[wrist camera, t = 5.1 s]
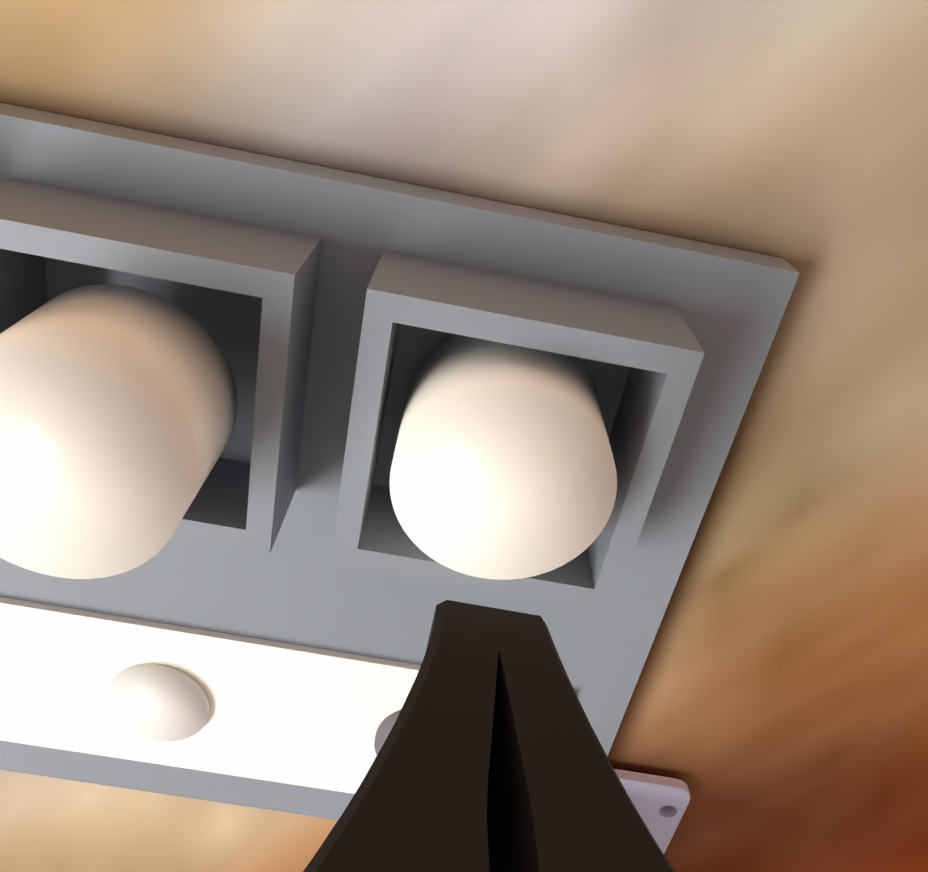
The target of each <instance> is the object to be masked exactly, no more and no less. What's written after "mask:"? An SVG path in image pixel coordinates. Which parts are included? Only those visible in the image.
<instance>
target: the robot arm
mask: <svg viewBox="0 0 928 872" xmlns="http://www.w3.org/2000/svg"><path fill="white" fill-rule="evenodd" d="M689 802H690V793H689V789H688V786H687V784H686V783H685V782H684V781H682V780H679V779H676V778H670V777H664V776H658V775H651V774H645V773H638V772H632V771H626V770H619V769H613V767H612V765H611V763H610V761H609V759H608V757H607V755H606V753H605V751H604V749H603V747H602V745H601V743H600V742H599V740H598V738H597V736H596V734H595V732H594V730H593V728H592V726H591V724H590V722H589V720H588V718H587V716H586V714H585V712H584V710H583V708H582V706H581V704H580V701H579V699H578V697H577V695H576V693H575V691H574V688H573V686H572V684H571V682H570V680H569V678H568V675H567V673H566V671H565V668H564V666H563V664H562V662H561V659H560V657H559V654H558V652H557V650H556V647H555V645H554V642H553V640H552V638H551V635H550V632H549V630H548V627H547V625H546V623H545V622H544V620H543V619H542V617H541V616H539V615H533V614H527V613H521V612H515V611H509V610H504V609H498V608H492V607H486V606H480V605H475V604H469V603H463V602H457V601H451V600H445V601H443V602H441V603H440V604H438V605H436V609H435V613H434V617H433V622H432V626H431V630H430V635H429V639H428V644H427V648H426V652H425V656H424V659H423V661H422V664H421V666H420V669H419V672H418V674H417V677H416V679H415V681H414V683H413V685H412V688H411V690H410V692H409V694H408V696H407V698H406V700H405V703H404V705H403V707H402V709H401V711H400V713H399V715H398V718H397V720H396V722H395V724H394V726H393V727H392V729H391V731H390V733H389V735H388V737H387V738H386V740H385V742H384V744H383V746H382V747H381V749H380V751H379V753H378V755H377V756H376V758H375V760H374V762H373V763H372V765H371V767H370V769H369V771H368V772H367V774H366V776H365V778H364V780H363V781H362V783H361V785H360V786H359V788H358V789H357V791H356V793H355V794H354V796H353V798H352V799H351V801H350V802H349V804H348V806H347V807H346V809H345V810H344V812H343V814H342V815H341V817H340V818H339V820H338V821H337V823H336V824H335V826H334V827H333V829H332V830H331V832H330V833H329V835H328V836H327V838H326V839H325V841H324V842H323V844H322V845H321V847H320V848H319V850H318V851H317V853H316V854H315V856H314V857H313V859H312V860H311V861H310V863H309V864H308V866H307V867H306V868H305V870H304V871H303V872H675V871H674V870H673V868H672V867H671V865H670V863H669V862H668V860H667V859H666V857H665V856H664V853H665V851H666V849H667V847H668V845H669V843H670V841H671V839H672V837H673V835H674V833H675V830H676V828H677V826H678V824H679V822H680V820H681V818H682V816H683V814H684V812H685V810H686V808H687V806H688V804H689Z"/></svg>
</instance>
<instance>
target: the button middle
mask: <svg viewBox="0 0 928 872" xmlns="http://www.w3.org/2000/svg"><path fill="white" fill-rule="evenodd" d="M237 410H238V398H237V390H236V384H235V380H234V377H233V374H232V371H231V368H230V366H229V364H228V362H227V359H226V357H225V356H224V354H223V352H222V351H221V349H220V347H219V346H218V344H217V343H216V342H215V340H214V339H213V338H212V336H211V335H210V334H209V333H208V332H207V331H206V330H205V329H204V327H203V326H202V325H201V324H200V323H199V322H198V321H196V320H195V319H194V318H193V317H192V316H190V315H189V314H188V313H187V312H185V311H184V310H182V309H181V308H179V307H178V306H176V305H175V304H173V303H171V302H170V301H168V300H166V299H164V298H162V297H160V296H158V295H155V294H152V293H150V292H147V291H144V290H141V289H137V288H133V287H129V286H122V285H114V284H96V285H88V286H82V287H78V288H75V289H71V290H68V291H66V292H64V293H62V294H60V295H57V296H56V297H54V298H53V299H51V300H50V301H48V302H47V303H45V304H44V305H42V306H41V307H39V308H38V309H36V310H35V311H33V312H32V313H30V314H29V315H27V316H26V317H24V318H23V319H21V320H20V321H18V322H17V323H15V324H14V325H12V326H11V327H10V328H8V329H7V330H5V331H4V332H2V333H1V334H0V558H2V559H4V560H6V561H8V562H10V563H12V564H15V565H17V566H20V567H22V568H24V569H28V570H31V571H34V572H37V573H40V574H45V575H50V576H54V577H61V578H69V579H95V578H105V577H109V576H114V575H118V574H121V573H124V572H127V571H130V570H132V569H134V568H136V567H138V566H140V565H142V564H144V563H145V562H147V561H148V560H150V559H151V558H152V557H154V556H155V555H156V554H157V553H158V552H159V551H160V550H161V549H162V548H163V547H164V546H165V545H166V543H167V542H168V540H169V539H170V538H171V536H172V535H173V533H174V531H175V530H176V528H177V526H178V525H179V523H180V521H181V520H182V518H183V516H184V515H185V513H186V511H187V510H188V508H189V506H190V505H191V503H192V501H193V500H194V498H195V496H196V495H197V493H198V491H199V490H200V488H201V486H202V485H203V483H204V481H205V480H206V478H207V476H208V475H209V473H210V471H211V470H212V468H213V466H214V465H215V463H216V461H217V460H218V458H219V456H220V455H221V453H222V451H223V450H224V448H225V447H226V445H227V443H228V441H229V439H230V437H231V435H232V433H233V430H234V426H235V423H236V418H237Z"/></svg>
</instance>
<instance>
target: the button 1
mask: <svg viewBox="0 0 928 872" xmlns="http://www.w3.org/2000/svg"><path fill="white" fill-rule="evenodd" d="M389 483H390V496H391V501H392V505H393V509H394V511H395V514H396V517H397V519H398V521H399V523H400V525H401V526H402V528H403V530H404V531H405V533H406V534H407V535H408V537H409V538H410V539H411V541H412V542H413V543H414V544H415V545H416V546H417V547H418V548H419V549H420V550H421V551H423V552H424V553H425V554H426V555H428V556H429V557H430V558H432V559H433V560H435V561H437V562H438V563H440V564H441V565H443V566H446V567H448V568H450V569H452V570H454V571H457V572H460V573H463V574H466V575H469V576H474V577H478V578H485V579H493V580H511V579H522V578H527V577H532V576H537V575H540V574H543V573H546V572H549V571H552V570H554V569H556V568H558V567H561V566H563V565H564V564H566V563H568V562H569V561H571V560H573V559H574V558H576V557H577V556H578V555H580V554H581V553H582V552H584V551H585V550H586V549H587V548H588V547H589V546H590V545H591V544H592V543H593V542H594V541H595V539H596V538H597V537H598V536H599V534H600V533H601V532H602V530H603V528H604V527H605V525H606V523H607V522H608V520H609V517H610V515H611V512H612V510H613V507H614V503H615V499H616V491H617V473H616V467H615V463H614V458H613V454H612V451H611V447H610V443H609V439H608V436H607V432H606V428H605V424H604V421H603V417H602V413H601V410H600V406H599V402H598V398H597V395H596V391H595V387H594V384H593V381H592V379H591V376H590V374H589V372H588V370H587V369H586V367H585V365H584V364H583V362H582V361H581V360H580V358H579V357H574V356H569V355H563V354H558V353H553V352H548V351H542V350H537V349H532V348H526V347H521V346H516V345H510V344H505V343H500V342H494V341H489V340H484V339H478V338H473V337H468V336H462V335H457V334H454V335H452V336H450V337H448V338H446V339H445V340H444V341H442V342H441V343H439V344H438V345H437V346H435V347H434V348H433V349H432V350H431V351H430V352H429V353H428V354H427V355H426V357H425V358H424V359H423V360H422V362H421V363H420V364H419V366H418V368H417V369H416V371H415V373H414V375H413V377H412V380H411V382H410V385H409V388H408V392H407V397H406V401H405V406H404V410H403V415H402V420H401V424H400V429H399V433H398V438H397V443H396V447H395V452H394V456H393V461H392V466H391V471H390V482H389Z"/></svg>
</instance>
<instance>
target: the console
mask: <svg viewBox="0 0 928 872" xmlns="http://www.w3.org/2000/svg"><path fill="white" fill-rule="evenodd" d="M799 274H800V272H799V271H798V270H796V269H795V268H794V267H793V266H792V265H791V264H790V263H788V262H787V261H786V260H785V259H784V258H780V257H775V256H770V255H765V254H760V253H755V252H750V251H745V250H740V249H735V248H730V247H725V246H720V245H715V244H710V243H705V242H700V241H695V240H690V239H685V238H680V237H675V236H670V235H665V234H660V233H655V232H650V231H645V230H640V229H634V228H629V227H624V226H619V225H614V224H609V223H604V222H599V221H594V220H589V219H584V218H579V217H574V216H569V215H564V214H559V213H554V212H549V211H544V210H539V209H534V208H529V207H524V206H519V205H514V204H509V203H504V202H499V201H494V200H489V199H484V198H479V197H474V196H469V195H464V194H459V193H454V192H449V191H443V190H438V189H433V188H428V187H423V186H418V185H413V184H408V183H403V182H398V181H393V180H388V179H383V178H378V177H373V176H368V175H363V174H358V173H353V172H348V171H343V170H338V169H333V168H328V167H323V166H318V165H313V164H308V163H303V162H298V161H293V160H288V159H283V158H278V157H273V156H268V155H263V154H258V153H252V152H247V151H242V150H237V149H232V148H227V147H222V146H217V145H212V144H207V143H202V142H197V141H192V140H187V139H182V138H177V137H172V136H167V135H162V134H157V133H152V132H147V131H142V130H137V129H132V128H127V127H122V126H117V125H112V124H107V123H102V122H97V121H92V120H87V119H82V118H77V117H72V116H67V115H61V114H56V113H51V112H46V111H41V110H36V109H31V108H26V107H21V106H16V105H11V104H6V103H1V102H0V334H1V333H2V332H4V331H5V330H7V329H8V328H10V327H11V326H12V325H14V324H15V323H17V322H18V321H20V320H21V319H23V318H24V317H26V316H27V315H29V314H30V313H32V312H33V311H35V310H36V309H38V308H39V307H41V306H42V305H44V304H45V303H47V302H48V301H50V300H51V299H53V298H54V297H56V296H57V295H60V294H62V293H64V292H66V291H68V290H71V289H75V288H78V287H82V286H88V285H96V284H114V285H122V286H129V287H133V288H137V289H141V290H144V291H147V292H150V293H152V294H155V295H158V296H160V297H162V298H164V299H166V300H168V301H170V302H171V303H173V304H175V305H176V306H178V307H179V308H181V309H182V310H184V311H185V312H187V313H188V314H189V315H190V316H192V317H193V318H194V319H195V320H196V321H198V322H199V323H200V324H201V325H202V326H203V327H204V329H205V330H206V331H207V332H208V333H209V334H210V335H211V336H212V338H213V339H214V340H215V342H216V343H217V344H218V346H219V347H220V349H221V351H222V352H223V354H224V356H225V357H226V359H227V362H228V364H229V366H230V368H231V371H232V374H233V377H234V380H235V384H236V390H237V398H238V410H237V418H236V423H235V426H234V430H233V433H232V435H231V437H230V439H229V441H228V443H227V445H226V447H225V448H224V450H223V451H222V453H221V455H220V456H219V458H218V460H217V461H216V463H215V465H214V466H213V468H212V470H211V471H210V473H209V475H208V476H207V478H206V480H205V481H204V483H203V485H202V486H201V488H200V490H199V491H198V493H197V495H196V496H195V498H194V500H193V501H192V503H191V505H190V506H189V508H188V510H187V511H186V513H185V515H184V516H183V518H182V520H181V521H180V523H179V525H178V526H177V528H176V530H175V531H174V533H173V535H172V536H171V538H170V539H169V540H168V542H167V543H166V545H165V546H164V547H163V548H162V549H161V550H160V551H159V552H158V553H157V554H156V555H155V556H154V557H152V558H151V559H150V560H148V561H147V562H145V563H144V564H142V565H140V566H138V567H136V568H134V569H132V570H130V571H127V572H124V573H121V574H118V575H114V576H109V577H105V578H95V579H69V578H61V577H54V576H50V575H45V574H40V573H37V572H34V571H31V570H28V569H24V568H22V567H20V566H17V565H15V564H12V563H10V562H8V561H6V560H4V559H2V558H0V770H6V771H13V772H20V773H27V774H33V775H40V776H47V777H53V778H60V779H67V780H74V781H80V782H87V783H94V784H100V785H107V786H114V787H120V788H127V789H134V790H141V791H147V792H154V793H161V794H167V795H174V796H181V797H188V798H194V799H201V800H208V801H214V802H221V803H228V804H234V805H241V806H248V807H255V808H261V809H268V810H275V811H281V812H288V813H295V814H302V815H308V816H315V817H322V818H328V819H335V820H339V818H340V817H341V815H342V814H343V812H344V810H345V809H346V807H347V806H348V804H349V802H350V801H351V799H352V798H353V796H354V794H355V793H356V791H357V789H358V788H359V786H360V785H361V783H362V781H363V780H364V778H365V776H366V774H367V772H368V771H369V769H370V767H371V765H372V763H373V762H374V760H375V758H376V756H377V755H378V753H379V751H380V749H381V747H382V746H383V744H384V742H385V740H386V738H387V737H388V735H389V733H390V731H391V729H392V727H393V726H394V724H395V722H396V720H397V718H398V715H399V713H400V711H401V709H402V707H403V705H404V703H405V700H406V698H407V696H408V694H409V692H410V690H411V688H412V685H413V683H414V681H415V679H416V677H417V674H418V672H419V669H420V666H421V664H422V661H423V659H424V656H425V652H426V648H427V644H428V639H429V635H430V630H431V626H432V622H433V617H434V613H435V609H436V605H438V604H440V603H441V602H443V601H445V600H451V601H457V602H463V603H469V604H475V605H480V606H486V607H492V608H498V609H504V610H509V611H515V612H521V613H527V614H533V615H539V616H541V617H542V619H543V620H544V622H545V623H546V625H547V627H548V630H549V632H550V635H551V638H552V640H553V642H554V645H555V647H556V650H557V652H558V654H559V657H560V659H561V662H562V664H563V666H564V668H565V671H566V673H567V675H568V678H569V680H570V682H571V684H572V686H573V688H574V691H575V693H576V695H577V697H578V699H579V701H580V704H581V706H582V708H583V710H584V712H585V714H586V716H587V718H588V720H589V722H590V724H591V726H592V728H593V730H594V732H595V734H596V736H597V738H598V740H599V742H600V743H601V745H602V747H603V749H604V751H605V753H606V755H607V757H608V754H609V752H610V749H611V747H612V744H613V742H614V739H615V737H616V734H617V731H618V729H619V726H620V724H621V721H622V719H623V716H624V714H625V711H626V709H627V706H628V704H629V701H630V699H631V696H632V694H633V691H634V689H635V686H636V684H637V681H638V679H639V676H640V674H641V671H642V669H643V666H644V664H645V661H646V659H647V656H648V654H649V651H650V649H651V646H652V644H653V641H654V638H655V636H656V633H657V631H658V628H659V626H660V623H661V621H662V618H663V616H664V613H665V611H666V608H667V606H668V603H669V601H670V598H671V596H672V593H673V591H674V588H675V586H676V583H677V581H678V578H679V576H680V573H681V571H682V568H683V566H684V563H685V561H686V558H687V556H688V553H689V551H690V548H691V545H692V543H693V540H694V538H695V535H696V533H697V530H698V528H699V525H700V523H701V520H702V518H703V515H704V513H705V510H706V508H707V505H708V503H709V500H710V498H711V495H712V493H713V490H714V488H715V485H716V483H717V480H718V478H719V475H720V473H721V470H722V468H723V465H724V463H725V460H726V458H727V455H728V452H729V450H730V447H731V445H732V442H733V440H734V437H735V435H736V432H737V430H738V427H739V425H740V422H741V420H742V417H743V415H744V412H745V410H746V407H747V405H748V402H749V400H750V397H751V395H752V392H753V390H754V387H755V385H756V382H757V380H758V377H759V375H760V372H761V370H762V367H763V365H764V362H765V359H766V357H767V354H768V352H769V349H770V347H771V344H772V342H773V339H774V337H775V334H776V332H777V329H778V327H779V324H780V322H781V319H782V317H783V314H784V312H785V309H786V307H787V304H788V302H789V299H790V297H791V294H792V292H793V289H794V287H795V284H796V282H797V279H798V277H799ZM454 334H457V335H462V336H468V337H473V338H478V339H484V340H489V341H494V342H500V343H505V344H510V345H516V346H521V347H526V348H532V349H537V350H542V351H548V352H553V353H558V354H563V355H569V356H574V357H579V358H580V360H581V361H582V362H583V364H584V365H585V367H586V369H587V370H588V372H589V374H590V376H591V379H592V381H593V384H594V387H595V391H596V395H597V398H598V402H599V406H600V410H601V413H602V417H603V421H604V424H605V428H606V432H607V436H608V439H609V443H610V447H611V451H612V454H613V458H614V463H615V467H616V473H617V491H616V499H615V503H614V507H613V510H612V512H611V515H610V517H609V520H608V522H607V523H606V525H605V527H604V528H603V530H602V532H601V533H600V534H599V536H598V537H597V538H596V539H595V541H594V542H593V543H592V544H591V545H590V546H589V547H588V548H587V549H586V550H585V551H584V552H582V553H581V554H580V555H578V556H577V557H576V558H574V559H573V560H571V561H569V562H568V563H566V564H564V565H563V566H561V567H558V568H556V569H554V570H552V571H549V572H546V573H543V574H540V575H537V576H532V577H527V578H522V579H511V580H493V579H485V578H478V577H474V576H469V575H466V574H463V573H460V572H457V571H454V570H452V569H450V568H448V567H446V566H443V565H441V564H440V563H438V562H437V561H435V560H433V559H432V558H430V557H429V556H428V555H426V554H425V553H424V552H423V551H421V550H420V549H419V548H418V547H417V546H416V545H415V544H414V543H413V542H412V541H411V539H410V538H409V537H408V535H407V534H406V533H405V531H404V530H403V528H402V526H401V525H400V523H399V521H398V519H397V517H396V514H395V511H394V509H393V505H392V501H391V496H390V483H389V482H390V471H391V466H392V461H393V456H394V452H395V447H396V443H397V438H398V433H399V429H400V424H401V420H402V415H403V410H404V406H405V401H406V397H407V392H408V388H409V385H410V382H411V380H412V377H413V375H414V373H415V371H416V369H417V368H418V366H419V364H420V363H421V362H422V360H423V359H424V358H425V357H426V355H427V354H428V353H429V352H430V351H431V350H432V349H433V348H434V347H435V346H437V345H438V344H439V343H441V342H442V341H444V340H445V339H446V338H448V337H450V336H452V335H454Z"/></svg>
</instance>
